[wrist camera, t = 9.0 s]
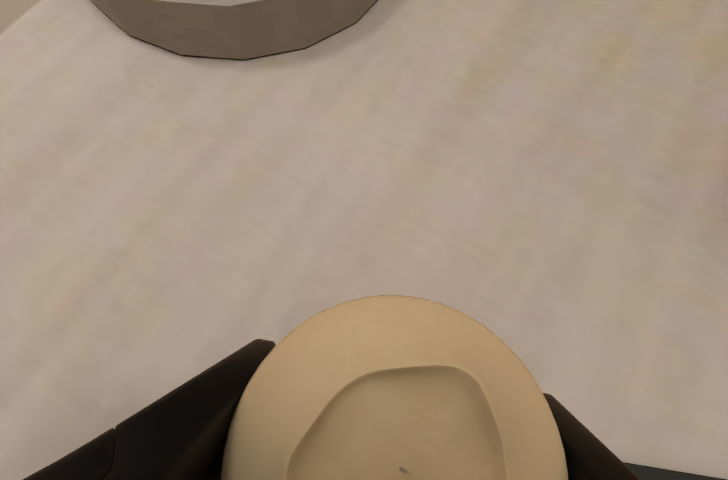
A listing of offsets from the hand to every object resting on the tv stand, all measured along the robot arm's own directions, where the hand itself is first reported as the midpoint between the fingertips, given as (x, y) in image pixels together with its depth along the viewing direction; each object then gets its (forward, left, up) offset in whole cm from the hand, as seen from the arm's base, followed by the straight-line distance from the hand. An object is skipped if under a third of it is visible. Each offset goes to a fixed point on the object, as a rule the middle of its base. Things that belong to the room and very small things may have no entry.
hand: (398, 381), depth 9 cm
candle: (-1, 0, -7) cm, 7 cm away
